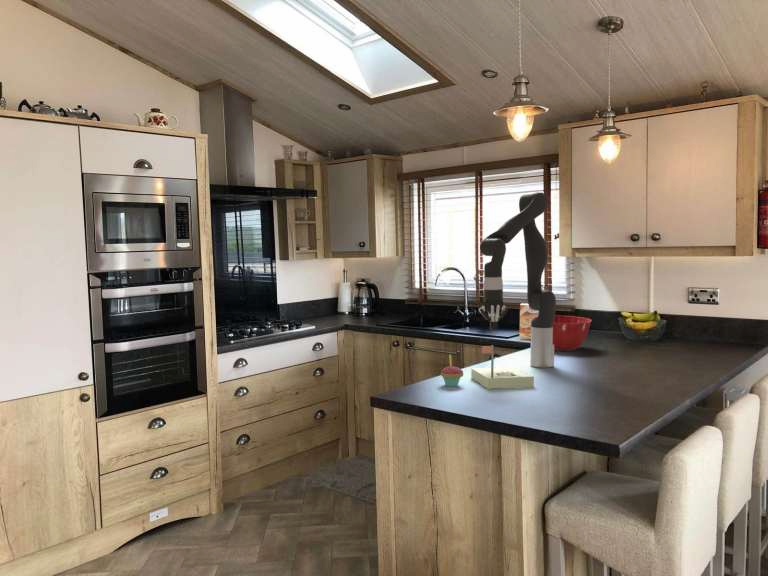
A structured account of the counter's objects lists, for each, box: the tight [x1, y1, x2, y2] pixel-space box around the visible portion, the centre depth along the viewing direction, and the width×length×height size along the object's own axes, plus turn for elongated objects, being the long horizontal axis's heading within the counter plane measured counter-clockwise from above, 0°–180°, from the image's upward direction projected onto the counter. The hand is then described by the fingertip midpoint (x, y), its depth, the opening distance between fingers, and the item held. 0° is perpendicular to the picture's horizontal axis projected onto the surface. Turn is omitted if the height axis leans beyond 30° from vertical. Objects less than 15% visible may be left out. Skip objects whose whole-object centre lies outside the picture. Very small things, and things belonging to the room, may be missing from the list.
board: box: [470, 345, 535, 390], centre depth 241 cm, size 20×19×16 cm
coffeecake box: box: [519, 303, 539, 340], centre depth 350 cm, size 15×7×20 cm, turn 73°
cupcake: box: [440, 354, 464, 387], centre depth 237 cm, size 9×8×12 cm
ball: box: [499, 371, 512, 377], centre depth 238 cm, size 5×5×5 cm
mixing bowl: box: [533, 315, 592, 352], centre depth 317 cm, size 28×28×15 cm
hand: (493, 330), depth 255 cm, fingers closed
